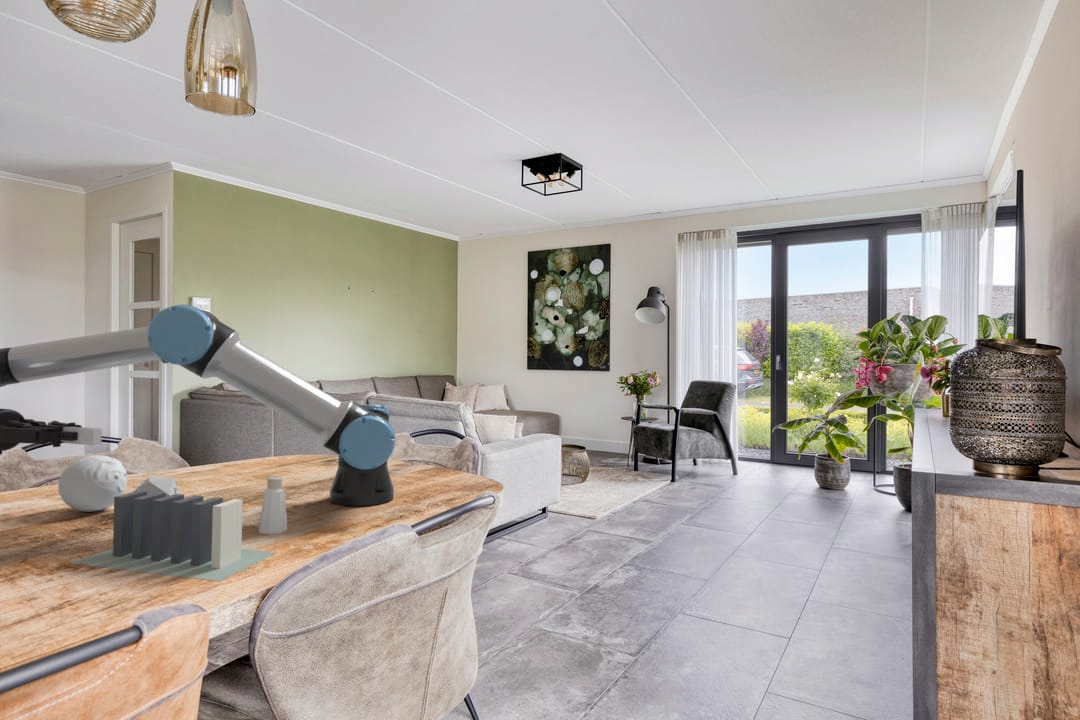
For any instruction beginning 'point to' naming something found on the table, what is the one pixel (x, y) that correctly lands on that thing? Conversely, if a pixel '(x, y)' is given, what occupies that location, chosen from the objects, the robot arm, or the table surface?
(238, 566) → the felt mat
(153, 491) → the die
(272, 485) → the salt shaker
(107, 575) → the table surface
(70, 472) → the decorative ball
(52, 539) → the table surface
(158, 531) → the domino
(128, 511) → the domino
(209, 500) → the domino
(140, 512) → the domino
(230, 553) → the domino
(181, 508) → the domino
